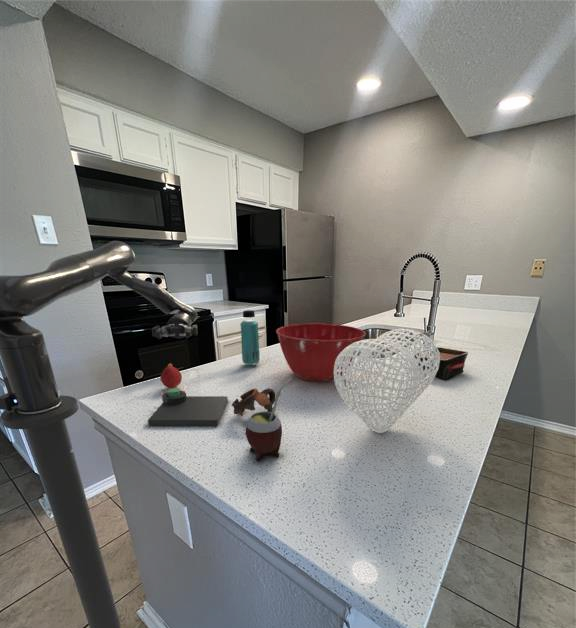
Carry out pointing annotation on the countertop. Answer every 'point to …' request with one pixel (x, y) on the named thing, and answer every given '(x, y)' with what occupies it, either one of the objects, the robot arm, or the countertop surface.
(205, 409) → the scale
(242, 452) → the countertop surface
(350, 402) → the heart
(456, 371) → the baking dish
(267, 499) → the countertop surface
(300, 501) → the countertop surface
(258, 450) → the mate gourd
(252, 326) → the beverage bottle
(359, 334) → the mixing bowl
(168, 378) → the onion
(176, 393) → the button
